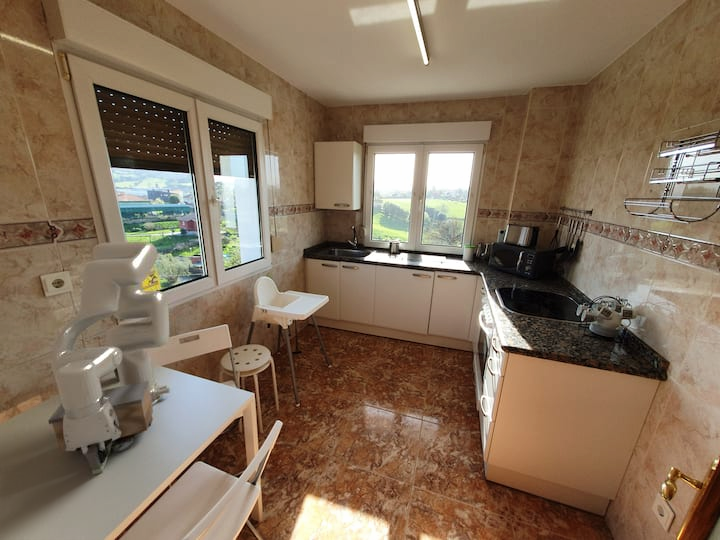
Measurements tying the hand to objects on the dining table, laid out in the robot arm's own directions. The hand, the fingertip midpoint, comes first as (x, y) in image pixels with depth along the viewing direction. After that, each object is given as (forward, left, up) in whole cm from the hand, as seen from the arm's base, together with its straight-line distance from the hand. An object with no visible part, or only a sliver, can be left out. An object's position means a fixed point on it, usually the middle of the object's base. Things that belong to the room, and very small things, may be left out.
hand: (99, 459), depth 79 cm
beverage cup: (+6, -47, -3) cm, 47 cm away
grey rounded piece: (-3, -6, -2) cm, 7 cm away
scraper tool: (0, -3, -2) cm, 3 cm away
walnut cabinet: (0, -10, -2) cm, 11 cm away
